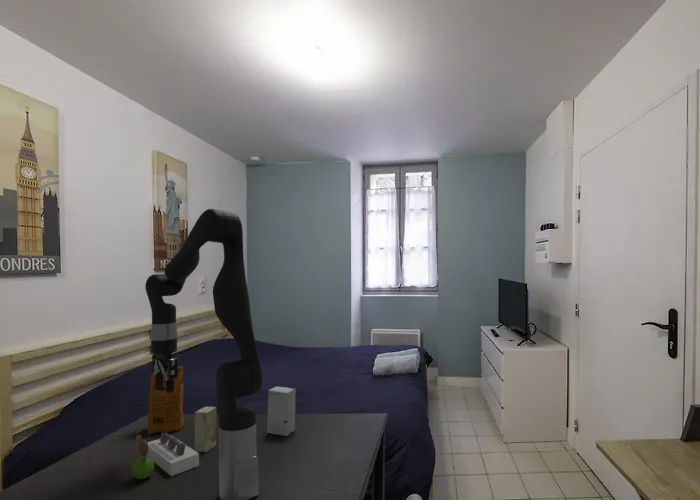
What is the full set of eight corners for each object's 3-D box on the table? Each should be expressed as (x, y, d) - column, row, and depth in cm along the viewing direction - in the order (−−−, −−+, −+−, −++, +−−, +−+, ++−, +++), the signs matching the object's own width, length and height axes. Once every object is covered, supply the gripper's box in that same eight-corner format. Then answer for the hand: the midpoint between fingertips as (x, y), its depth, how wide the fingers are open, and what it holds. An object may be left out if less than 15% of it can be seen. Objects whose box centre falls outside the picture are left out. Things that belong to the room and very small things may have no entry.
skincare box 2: (266, 433, 140) (266, 390, 141) (275, 427, 146) (275, 385, 146) (288, 436, 137) (287, 392, 138) (296, 430, 143) (295, 387, 144)
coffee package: (151, 425, 151) (151, 365, 152) (187, 422, 153) (186, 363, 154) (143, 435, 141) (143, 372, 142) (181, 432, 143) (180, 369, 145)
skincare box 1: (206, 453, 126) (206, 413, 127) (194, 452, 127) (193, 412, 128) (217, 444, 133) (217, 406, 133) (205, 443, 133) (205, 405, 134)
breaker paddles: (183, 453, 118) (185, 444, 118) (178, 454, 117) (180, 445, 117) (164, 440, 128) (166, 432, 128) (159, 441, 126) (161, 432, 127)
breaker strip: (199, 465, 118) (198, 453, 118) (171, 476, 112) (171, 462, 112) (158, 437, 139) (158, 426, 139) (133, 445, 133) (133, 433, 134)
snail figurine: (147, 470, 116) (147, 427, 117) (157, 477, 112) (157, 432, 113) (127, 477, 112) (127, 433, 112) (137, 485, 108) (137, 439, 108)
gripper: (185, 337, 125) (186, 391, 124) (167, 333, 135) (167, 383, 134) (160, 341, 120) (160, 397, 119) (143, 337, 130) (143, 388, 129)
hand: (164, 389), depth 126 cm, fingers open, 8 cm apart
